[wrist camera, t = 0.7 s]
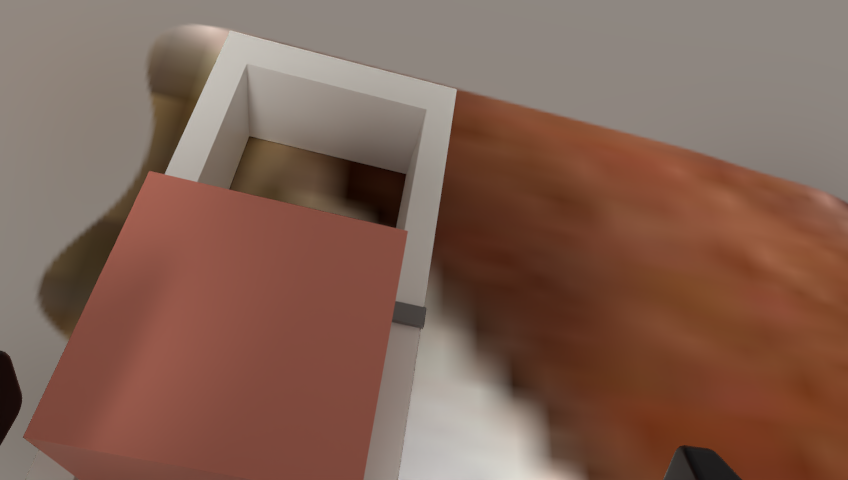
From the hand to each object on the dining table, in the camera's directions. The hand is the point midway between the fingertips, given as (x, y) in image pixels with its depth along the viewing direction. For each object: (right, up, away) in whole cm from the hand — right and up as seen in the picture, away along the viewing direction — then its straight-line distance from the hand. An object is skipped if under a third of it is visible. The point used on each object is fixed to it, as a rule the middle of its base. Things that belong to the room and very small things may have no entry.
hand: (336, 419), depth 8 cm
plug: (-4, -3, +12) cm, 13 cm away
